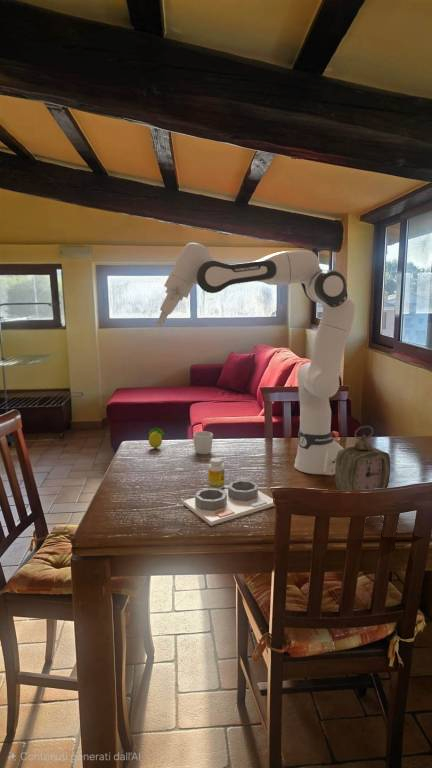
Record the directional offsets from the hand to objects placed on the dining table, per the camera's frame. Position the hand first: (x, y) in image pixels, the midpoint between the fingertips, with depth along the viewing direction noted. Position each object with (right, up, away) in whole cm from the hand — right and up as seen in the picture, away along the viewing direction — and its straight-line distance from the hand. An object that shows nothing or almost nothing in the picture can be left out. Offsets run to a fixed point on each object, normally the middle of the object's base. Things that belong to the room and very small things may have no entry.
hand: (159, 324), depth 161 cm
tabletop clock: (+64, -58, -16) cm, 88 cm away
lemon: (-6, -48, +36) cm, 60 cm away
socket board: (+24, -58, -17) cm, 65 cm away
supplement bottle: (+20, -56, -3) cm, 59 cm away
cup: (+14, -49, +32) cm, 60 cm away
